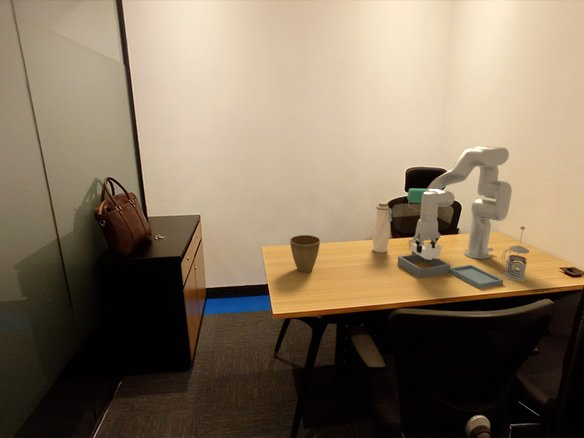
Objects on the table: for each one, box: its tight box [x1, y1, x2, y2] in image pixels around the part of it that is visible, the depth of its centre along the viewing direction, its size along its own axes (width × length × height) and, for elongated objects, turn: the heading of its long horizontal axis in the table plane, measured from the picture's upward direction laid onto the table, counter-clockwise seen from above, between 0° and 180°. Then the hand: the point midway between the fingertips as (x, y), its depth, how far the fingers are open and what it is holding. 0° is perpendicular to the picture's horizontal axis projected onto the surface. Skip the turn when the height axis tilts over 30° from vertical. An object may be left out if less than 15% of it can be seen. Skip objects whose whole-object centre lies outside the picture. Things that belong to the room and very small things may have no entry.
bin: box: [397, 253, 451, 279], centre depth 173 cm, size 18×18×4 cm
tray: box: [449, 264, 504, 289], centre depth 163 cm, size 14×19×2 cm
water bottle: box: [372, 201, 393, 253], centre depth 196 cm, size 10×9×28 cm
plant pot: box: [289, 234, 321, 273], centre depth 171 cm, size 15×15×16 cm
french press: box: [501, 226, 530, 282], centre depth 162 cm, size 10×12×25 cm
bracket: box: [409, 242, 443, 260], centre depth 171 cm, size 13×7×8 cm, turn 15°
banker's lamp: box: [406, 187, 427, 254], centre depth 199 cm, size 16×21×35 cm
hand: (425, 251), depth 172 cm, fingers closed on bracket, 7 cm apart
